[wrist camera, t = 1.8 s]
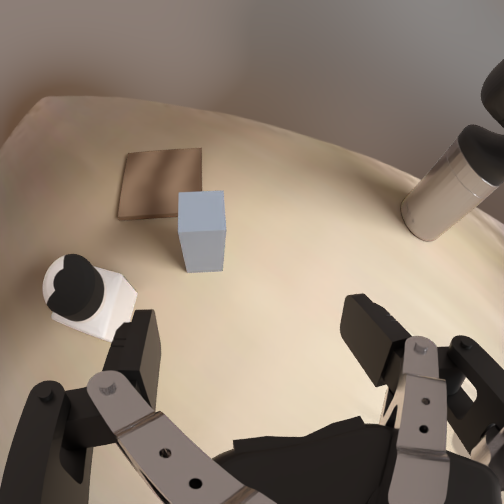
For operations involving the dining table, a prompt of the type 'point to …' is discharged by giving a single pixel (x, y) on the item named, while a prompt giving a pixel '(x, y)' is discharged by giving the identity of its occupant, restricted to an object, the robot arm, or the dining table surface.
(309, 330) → the dining table surface
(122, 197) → the board
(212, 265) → the block
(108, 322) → the medicine bottle
